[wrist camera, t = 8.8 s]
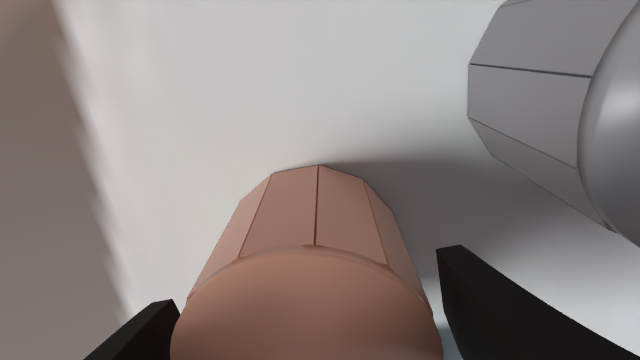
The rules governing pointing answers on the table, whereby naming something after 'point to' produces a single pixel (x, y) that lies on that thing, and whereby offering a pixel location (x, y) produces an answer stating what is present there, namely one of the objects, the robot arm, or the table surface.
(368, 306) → the peach domed cylinder
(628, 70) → the gray domed cylinder
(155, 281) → the table surface
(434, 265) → the table surface
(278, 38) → the table surface
